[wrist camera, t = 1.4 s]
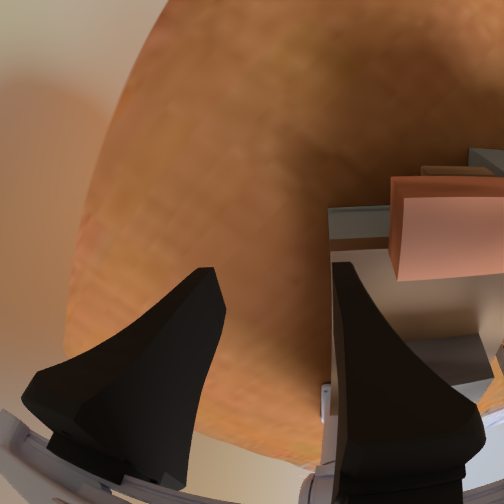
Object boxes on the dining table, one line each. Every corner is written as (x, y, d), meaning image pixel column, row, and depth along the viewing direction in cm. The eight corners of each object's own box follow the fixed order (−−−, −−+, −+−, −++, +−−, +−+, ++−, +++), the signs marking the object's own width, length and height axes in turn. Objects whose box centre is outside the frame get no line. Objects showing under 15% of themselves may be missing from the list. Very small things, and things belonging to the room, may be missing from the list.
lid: (463, 384, 23) (473, 435, 18) (330, 398, 27) (327, 453, 22) (537, 166, 12) (596, 212, 7) (324, 164, 15) (329, 217, 10)
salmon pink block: (511, 245, 13) (530, 270, 11) (388, 251, 15) (397, 281, 13) (525, 178, 11) (549, 198, 9) (390, 176, 13) (404, 198, 11)
